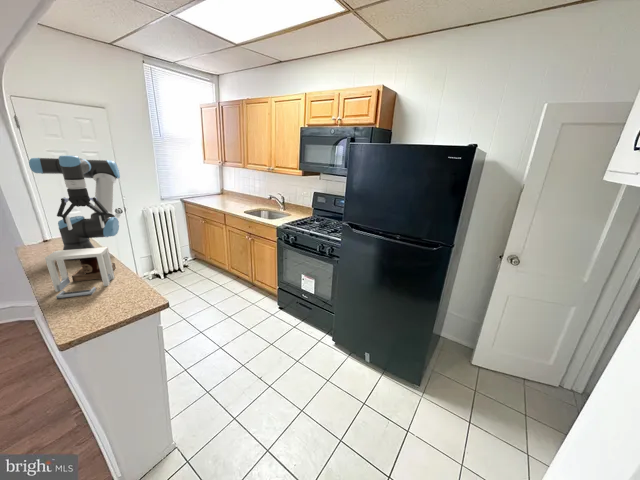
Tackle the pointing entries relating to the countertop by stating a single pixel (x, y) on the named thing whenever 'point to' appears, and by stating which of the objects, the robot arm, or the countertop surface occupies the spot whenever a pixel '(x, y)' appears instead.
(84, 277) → the wooden frame
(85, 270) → the coffee cup
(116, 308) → the countertop surface
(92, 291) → the grey flat piece
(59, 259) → the tunnel
